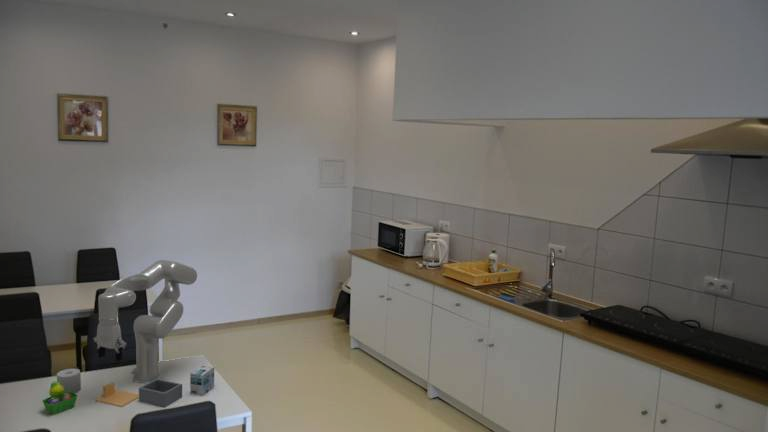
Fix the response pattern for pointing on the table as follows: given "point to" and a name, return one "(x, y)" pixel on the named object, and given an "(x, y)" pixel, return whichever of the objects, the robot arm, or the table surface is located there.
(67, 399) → the fruit basket
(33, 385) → the table surface
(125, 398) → the lid
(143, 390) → the tub
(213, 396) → the table surface
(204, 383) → the light bulb box
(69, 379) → the toilet tissue
